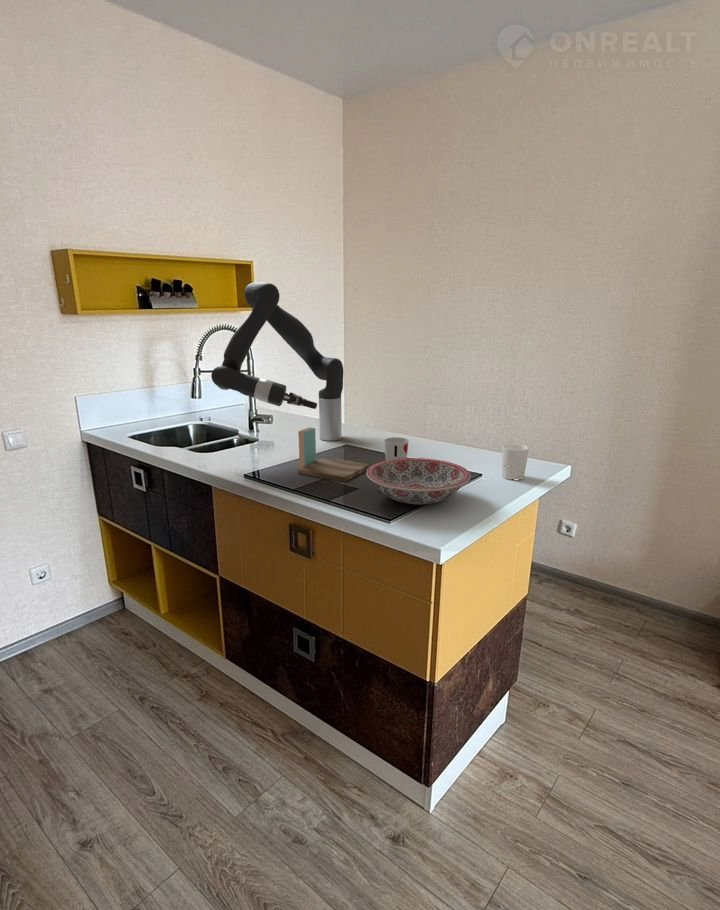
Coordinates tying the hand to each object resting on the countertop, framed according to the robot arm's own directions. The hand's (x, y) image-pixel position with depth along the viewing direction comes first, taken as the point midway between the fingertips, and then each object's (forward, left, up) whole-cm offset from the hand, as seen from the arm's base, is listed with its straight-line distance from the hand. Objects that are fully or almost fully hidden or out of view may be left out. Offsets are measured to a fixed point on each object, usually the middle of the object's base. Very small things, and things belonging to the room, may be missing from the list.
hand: (315, 406), depth 179 cm
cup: (+8, +27, -20) cm, 35 cm away
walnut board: (+10, +6, -20) cm, 23 cm away
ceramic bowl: (+37, +31, -20) cm, 52 cm away
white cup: (+18, +64, -20) cm, 70 cm away
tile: (+5, -3, -20) cm, 21 cm away
